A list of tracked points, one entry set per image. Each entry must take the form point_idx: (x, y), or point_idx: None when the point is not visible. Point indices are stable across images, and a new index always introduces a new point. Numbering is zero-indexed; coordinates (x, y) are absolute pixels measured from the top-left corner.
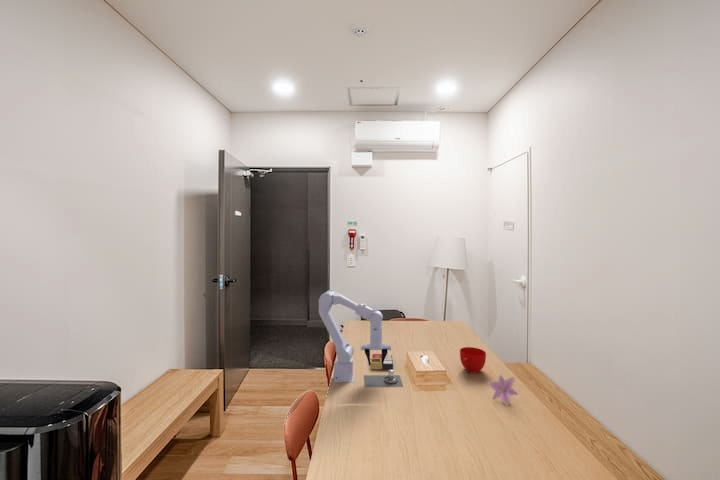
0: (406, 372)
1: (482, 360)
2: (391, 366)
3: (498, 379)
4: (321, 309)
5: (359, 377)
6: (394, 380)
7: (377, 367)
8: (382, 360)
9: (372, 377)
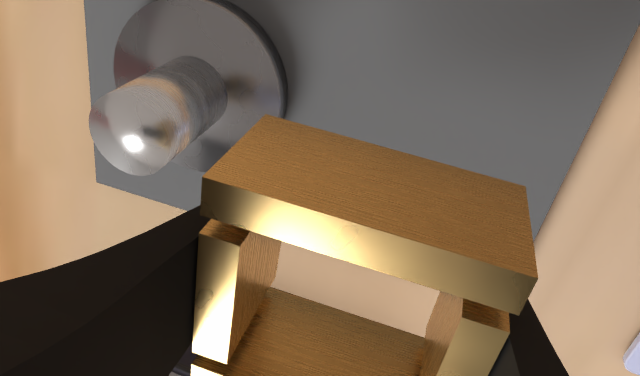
0: (34, 224)
1: None
2: None
3: None
4: None
5: (564, 295)
6: (158, 32)
7: (355, 155)
8: (169, 250)
9: None
